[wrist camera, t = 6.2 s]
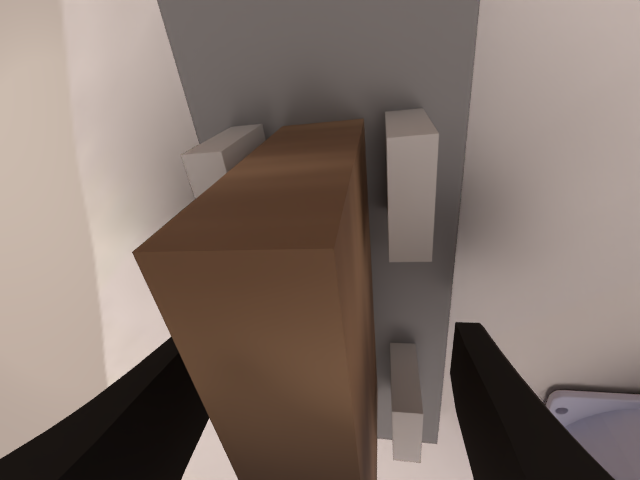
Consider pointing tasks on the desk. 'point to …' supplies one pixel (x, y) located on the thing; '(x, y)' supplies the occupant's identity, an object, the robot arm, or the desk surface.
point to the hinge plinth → (380, 143)
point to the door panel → (279, 305)
